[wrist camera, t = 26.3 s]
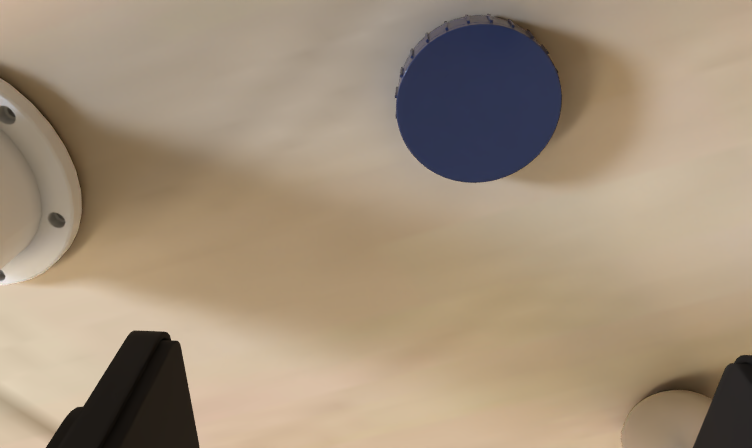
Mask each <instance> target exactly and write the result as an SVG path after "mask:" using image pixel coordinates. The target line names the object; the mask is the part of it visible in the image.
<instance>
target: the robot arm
mask: <svg viewBox="0 0 752 448" xmlns="http://www.w3.org/2000/svg"><path fill="white" fill-rule="evenodd" d="M81 215H82V198H81V189H80V185H79V181H78V176H77V172H76V169H75V167H74V165H73V162H72V160H71V158H70V156H69V153H68V151H67V149H66V147H65V145H64V144H63V142H62V141H61V139H60V138H59V136H58V135H57V133H56V132H55V130H54V128H53V127H52V125H51V124H50V123H49V122H48V121H47V120H46V119H45V117H44V116H43V115H42V114H41V113H40V112H39V111H38V109H37V108H36V107H35V106H34V105H33V104H32V103H31V102H30V101H29V100H28V99H26V98H25V97H24V96H23V95H22V94H21V93H19V92H18V91H17V90H16V89H15V88H14V87H12V86H11V85H10V84H9V83H7V82H5V81H4V80H2V79H1V78H0V285H12V284H16V283H20V282H24V281H28V280H30V279H32V278H34V277H36V276H38V275H40V274H42V273H44V272H45V271H46V270H48V269H49V268H50V267H51V266H52V265H53V264H55V263H56V262H57V261H58V260H59V259H60V258H61V257H62V255H63V254H64V253H65V252H66V251H67V250H68V249H69V247H70V246H71V245H72V242H73V240H74V238H75V236H76V234H77V232H78V230H79V225H80V220H81ZM46 448H199V442H198V436H197V431H196V426H195V420H194V415H193V409H192V404H191V399H190V393H189V388H188V383H187V377H186V372H185V367H184V361H183V356H182V351H181V346H180V343H179V342H178V341H171V338H170V335H169V334H168V333H167V332H157V331H132V332H131V333H130V334H129V335H128V336H127V338H126V340H125V341H124V343H123V344H122V346H121V348H120V349H119V351H118V352H117V354H116V355H115V357H114V359H113V360H112V362H111V363H110V365H109V367H108V368H107V370H106V371H105V373H104V375H103V376H102V378H101V379H100V381H99V383H98V384H97V386H96V387H95V389H94V391H93V392H92V394H91V395H90V397H89V399H88V400H87V402H86V403H85V405H84V406H83V407H77V408H75V409H74V410H72V411H71V412H70V413H69V414H68V415H67V417H66V418H65V419H64V421H63V422H62V424H61V425H60V427H59V428H58V430H57V431H56V433H55V434H54V436H53V438H52V439H51V441H50V442H49V444H48V445H47V447H46ZM693 448H752V355H743V356H740V357H738V358H737V359H736V361H735V363H732V364H729V365H727V367H726V368H725V370H724V373H723V375H722V378H721V380H720V382H719V385H718V387H717V390H716V392H715V395H714V397H713V399H712V402H711V404H710V407H709V409H708V412H707V414H706V416H705V419H704V421H703V424H702V426H701V429H700V431H699V433H698V436H697V438H696V441H695V443H694V446H693Z"/></svg>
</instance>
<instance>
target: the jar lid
mask: <svg viewBox="0 0 752 448" xmlns="http://www.w3.org/2000/svg"><path fill="white" fill-rule="evenodd" d="M547 54H549V53H548V51H547V50H546V49H545V47H544V46H543V45H540V44H539V43H538V42H537V41H536V40H535V38H534V36H533V35H532V34H531V32H530V31H529V30H528V29H527V30H524V29H523V28H521V27H520V26H518V25H516V24H514V23H513V22H512V20H511V19H508V20H505V19H502V18H498V17H492V16H491V15H490V14H487V16H480V15H477V16H468V15H465V17H463V18H458V19H455V20H452V21H450V22H447V21H445V22H444V24H443V25H441V26H439V27H437V28H436V29H434V30H433V31H432V32H430V33H429V34H428V33H426V34H425V37H424V38H423V39H422V40H421V41H420V42H419V43H418V44H417V46H416V47H415V48H414V49H411V51H410V55H409V57H408V58H407V60H406V63H405V65H404V67H401V71H400V80H399V86H398V87H396V93H395V98H397V101H396V118H397V122H398V126H399V130H400V133H401V136H402V138H403V140H404V142H405V144H406V146H407V148H408V149H409V150H410V152H411V153H412V154H413V156H414V157H415V158H416V159H417V160H418V161H419V162H420V163H421V164H423V165H424V166H425V167H426V168H428V169H429V170H431V171H433V172H434V173H436V174H438V175H440V176H443V177H445V178H448V179H451V180H455V181H461V182H471V183H477V182H487V181H493V180H497V179H500V178H503V177H506V176H508V175H510V174H513V173H515V172H517V171H518V170H520V169H522V168H523V167H525V166H526V165H527V164H529V163H530V162H531V161H532V160H533V159H534V158H536V157H537V156H538V155H539V154H540V152H541V151H542V150H543V149H544V148H545V146H546V145H547V143H548V142H549V140H550V139H551V137H552V135H553V133H554V131H555V129H556V126H557V123H558V120H559V117H560V111H561V102H562V94H561V85H560V81H559V77H558V74H557V73H558V71H557V69H556V68H555V66H554V64H553V63H552V61H551V59H550V58H549V56H548V55H547Z"/></svg>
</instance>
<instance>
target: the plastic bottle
mask: <svg viewBox="0 0 752 448" xmlns="http://www.w3.org/2000/svg"><path fill="white" fill-rule="evenodd" d="M711 402H712V399H711V398H709V397H706V396H704V395H702V394H699V393H696V392H692V391H687V390H670V391H664V392H660V393H657V394H654V395H651V396H649V397H647V398H645V399H644V400H642V401H641V402H639V403H638V404H637V405H636V406H635V407H634V408H633V409H632V410H631V411H630V413H629V414H628V416H627V418H626V421H625V423H624V426H623V428H622V431H621V443H622V448H693V446H694V443H695V441H696V438H697V436H698V433H699V431H700V429H701V426H702V424H703V421H704V419H705V416H706V414H707V412H708V409H709V407H710V404H711Z"/></svg>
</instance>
